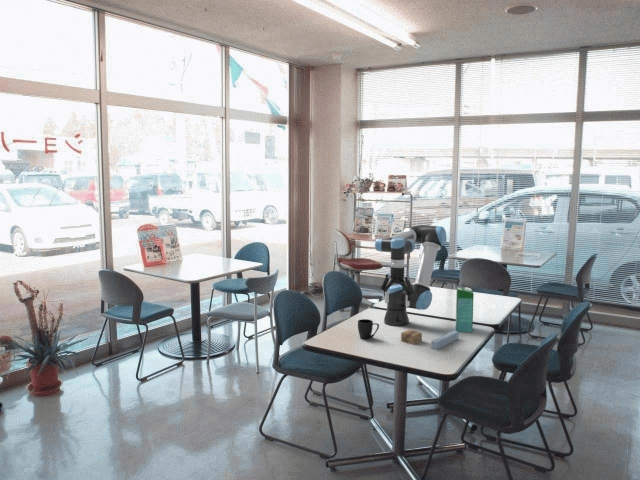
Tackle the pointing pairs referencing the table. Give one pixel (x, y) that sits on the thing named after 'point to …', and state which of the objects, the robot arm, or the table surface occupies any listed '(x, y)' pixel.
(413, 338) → the block
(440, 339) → the pale blue bar
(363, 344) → the table surface
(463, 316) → the milk carton
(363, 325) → the mug
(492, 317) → the table surface
